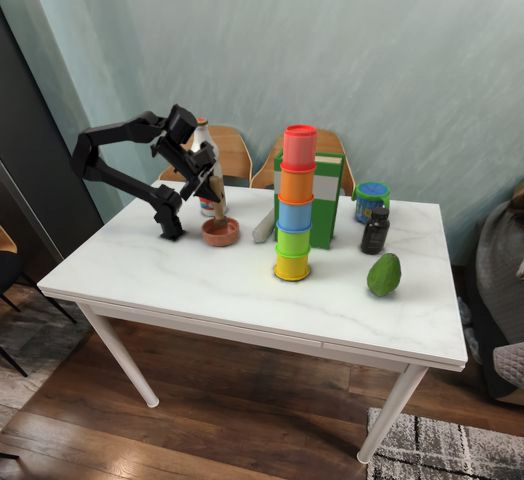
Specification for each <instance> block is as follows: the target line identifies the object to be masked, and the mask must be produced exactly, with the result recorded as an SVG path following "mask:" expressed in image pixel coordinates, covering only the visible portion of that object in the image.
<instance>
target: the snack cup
mask: <svg viewBox="0 0 524 480" xmlns="http://www.w3.org/2000/svg"><path fill="white" fill-rule="evenodd" d="M390 194H391V188H390V186H388V185H387V184H384V183H382V182H379V181H364V182H361V183H359V184H357V185H355V187H354V189H353V190H352V194H351V198H350V199H351V201H352V202H355V215H354V216H355V217H354V218H355V220H357V221H358V222H360V223H362V224H365V223H366V220H367V219H368V218H370V217H371V213H372V209H373V208H375V207H384V208H387V209H389V210H390V209H391V201H390Z"/></svg>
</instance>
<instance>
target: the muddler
mask: <svg viewBox="0 0 524 480" xmlns="http://www.w3.org/2000/svg"><path fill="white" fill-rule="evenodd" d="M209 180H210V186H211V189H212V190H213V191H214V192H215V194H216V195H217V196H218V197H219V198H220V200H221V202H220V203H216V202H213V205H214V211H215V216H213V217H212V218H213V221H214V225H216V226H224V225H226V224H227V223H228V221H227V217H228V216H226V215H225V212H224V210H223V203H222V195H221V188H220V180H219V177H218V176H211V177H210V178H209Z"/></svg>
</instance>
